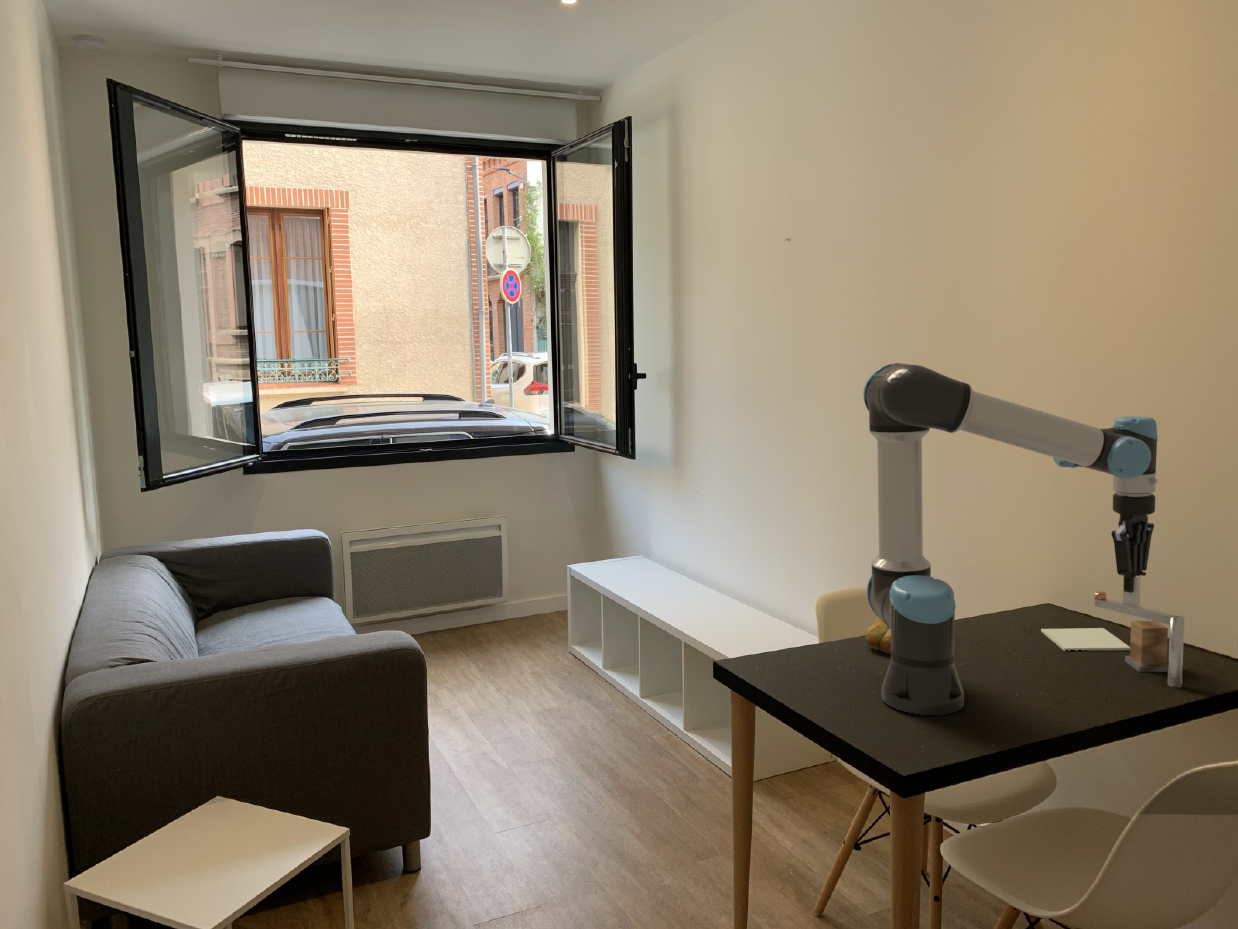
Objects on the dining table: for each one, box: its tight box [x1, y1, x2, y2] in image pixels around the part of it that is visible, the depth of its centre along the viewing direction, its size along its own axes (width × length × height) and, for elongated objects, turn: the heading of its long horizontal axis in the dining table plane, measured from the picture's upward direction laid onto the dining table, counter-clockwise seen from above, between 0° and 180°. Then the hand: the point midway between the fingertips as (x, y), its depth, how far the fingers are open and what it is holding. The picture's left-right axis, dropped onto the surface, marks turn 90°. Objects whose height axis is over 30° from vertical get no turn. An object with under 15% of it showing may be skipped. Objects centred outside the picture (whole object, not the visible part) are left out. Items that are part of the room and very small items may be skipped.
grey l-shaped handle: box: [1093, 591, 1185, 689], centre depth 188 cm, size 2×19×15 cm, turn 27°
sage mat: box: [1040, 627, 1130, 652], centre depth 210 cm, size 14×14×1 cm
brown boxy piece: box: [1124, 620, 1169, 673], centre depth 193 cm, size 6×6×9 cm
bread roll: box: [865, 616, 891, 655], centre depth 209 cm, size 13×10×8 cm
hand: (1131, 606), depth 191 cm, fingers closed
